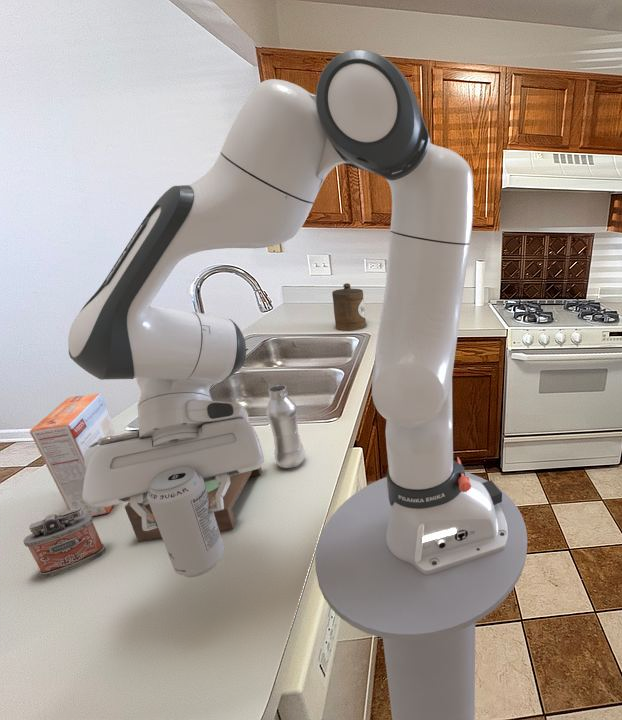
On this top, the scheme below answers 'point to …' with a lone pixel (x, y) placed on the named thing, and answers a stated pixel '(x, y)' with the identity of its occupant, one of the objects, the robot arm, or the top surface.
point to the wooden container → (349, 308)
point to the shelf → (223, 516)
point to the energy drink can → (185, 520)
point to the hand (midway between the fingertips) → (185, 519)
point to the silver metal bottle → (284, 428)
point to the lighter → (64, 542)
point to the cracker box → (73, 445)
